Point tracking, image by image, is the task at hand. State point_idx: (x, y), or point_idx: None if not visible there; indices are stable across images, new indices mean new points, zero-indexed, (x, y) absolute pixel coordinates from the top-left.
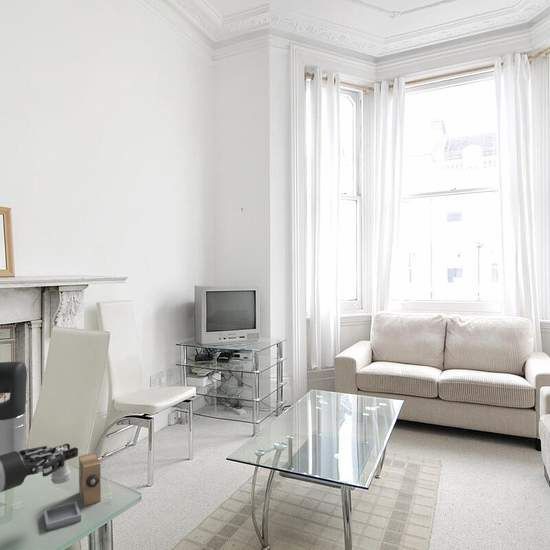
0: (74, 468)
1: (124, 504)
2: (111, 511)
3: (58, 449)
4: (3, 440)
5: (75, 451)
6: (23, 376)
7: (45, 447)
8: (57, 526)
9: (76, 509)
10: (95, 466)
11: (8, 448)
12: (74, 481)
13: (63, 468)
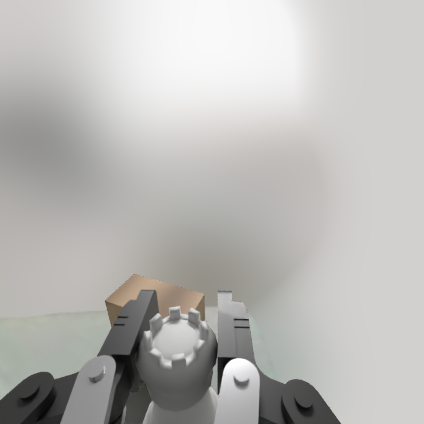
0: (33, 318)
1: (259, 341)
2: (267, 375)
3: (184, 355)
4: None
5: (246, 309)
6: None
7: (46, 390)
8: None
9: None
10: (198, 307)
11: None
12: (72, 348)
13: (211, 408)
